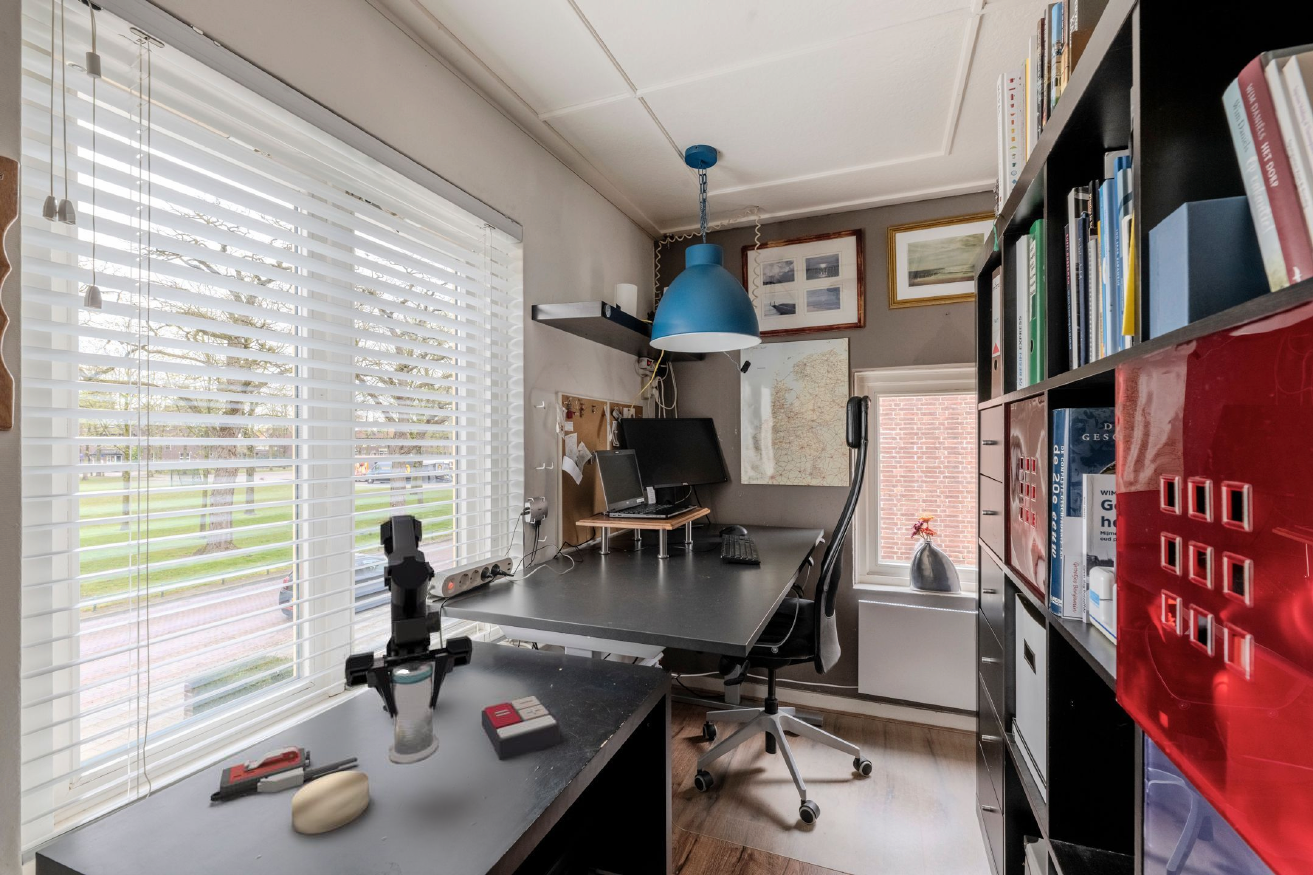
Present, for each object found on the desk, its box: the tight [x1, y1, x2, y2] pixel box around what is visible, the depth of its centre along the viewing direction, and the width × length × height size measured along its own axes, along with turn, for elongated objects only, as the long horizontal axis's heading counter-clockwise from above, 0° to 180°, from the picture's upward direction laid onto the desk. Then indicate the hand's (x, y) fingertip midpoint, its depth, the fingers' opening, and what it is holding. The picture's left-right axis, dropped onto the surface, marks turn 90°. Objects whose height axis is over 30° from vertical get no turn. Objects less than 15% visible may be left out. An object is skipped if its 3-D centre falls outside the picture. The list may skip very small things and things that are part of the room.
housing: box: [388, 661, 440, 765], centre depth 87 cm, size 7×7×13 cm
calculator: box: [481, 695, 561, 761], centre depth 105 cm, size 11×4×15 cm
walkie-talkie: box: [209, 745, 358, 802], centre depth 92 cm, size 9×4×20 cm
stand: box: [291, 770, 370, 835], centre depth 83 cm, size 10×10×3 cm
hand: (413, 712), depth 85 cm, fingers closed on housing, 6 cm apart
